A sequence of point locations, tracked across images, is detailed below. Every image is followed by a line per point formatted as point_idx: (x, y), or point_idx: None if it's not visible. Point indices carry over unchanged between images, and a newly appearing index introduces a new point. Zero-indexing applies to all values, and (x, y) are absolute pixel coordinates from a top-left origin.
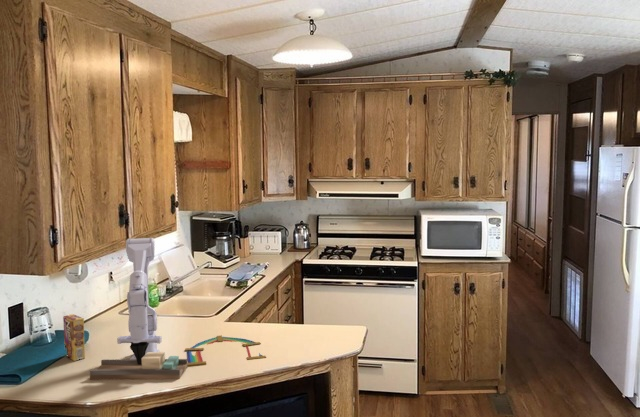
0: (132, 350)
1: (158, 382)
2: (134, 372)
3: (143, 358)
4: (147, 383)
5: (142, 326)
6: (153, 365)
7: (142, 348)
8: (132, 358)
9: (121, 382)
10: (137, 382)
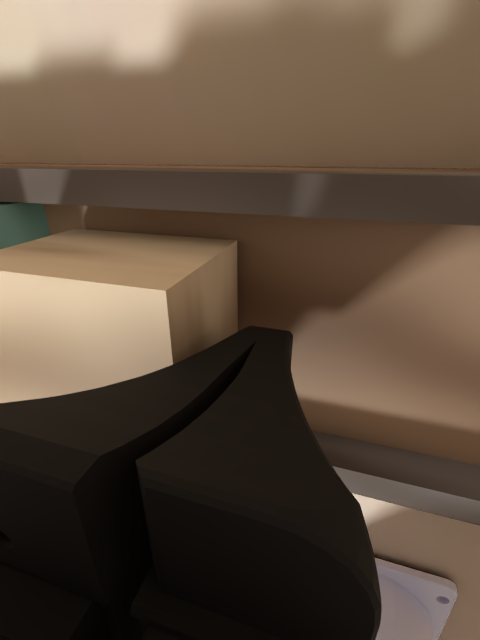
0: (309, 449)
1: (60, 73)
2: (298, 170)
3: (136, 286)
4: (143, 39)
5: None
6: (86, 247)
7: (24, 408)
8: (437, 589)
9: (457, 55)
10: (254, 65)
